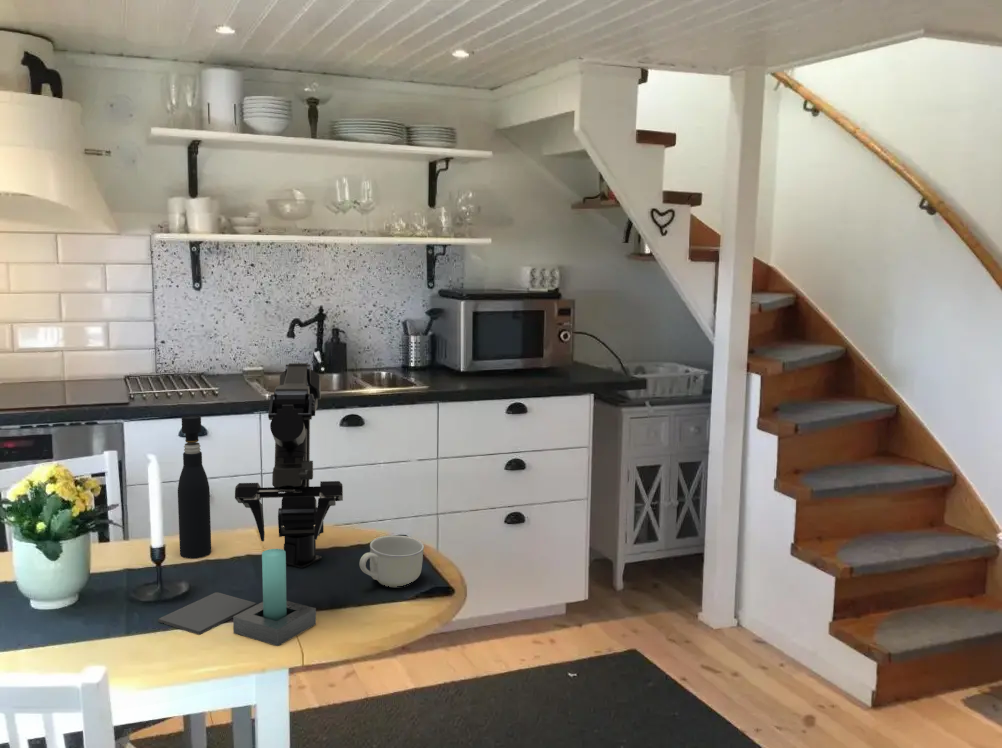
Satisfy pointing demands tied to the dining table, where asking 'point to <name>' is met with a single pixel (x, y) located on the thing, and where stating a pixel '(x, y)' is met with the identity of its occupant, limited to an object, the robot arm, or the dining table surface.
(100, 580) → the dining table surface
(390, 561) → the teacup
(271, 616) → the teal peg
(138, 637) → the dining table surface
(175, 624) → the rubber pad
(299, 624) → the socket block
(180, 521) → the black bottle
